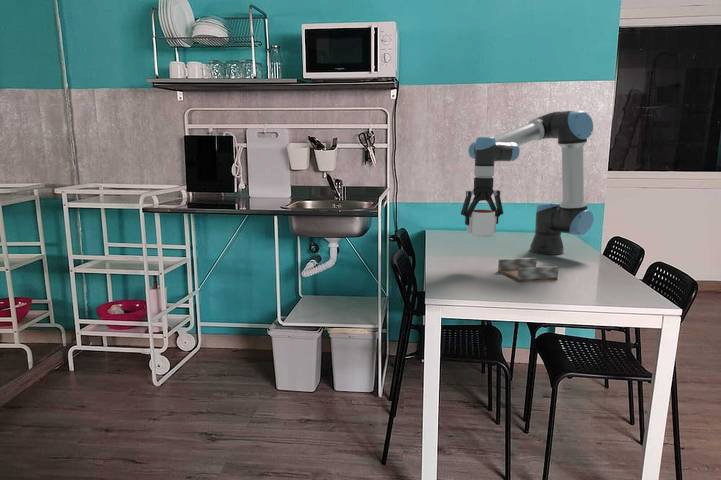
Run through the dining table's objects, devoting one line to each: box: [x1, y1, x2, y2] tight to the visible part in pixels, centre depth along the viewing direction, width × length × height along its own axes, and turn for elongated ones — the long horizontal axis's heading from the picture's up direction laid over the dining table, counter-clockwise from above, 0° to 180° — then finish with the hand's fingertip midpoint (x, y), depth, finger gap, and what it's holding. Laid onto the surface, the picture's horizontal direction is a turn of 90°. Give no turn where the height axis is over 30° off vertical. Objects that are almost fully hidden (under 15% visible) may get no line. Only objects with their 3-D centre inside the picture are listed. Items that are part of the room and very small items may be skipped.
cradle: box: [497, 257, 559, 283], centre depth 208 cm, size 16×16×5 cm
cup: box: [469, 209, 495, 238], centre depth 214 cm, size 10×10×10 cm
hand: (481, 232), depth 215 cm, fingers closed on cup, 10 cm apart
